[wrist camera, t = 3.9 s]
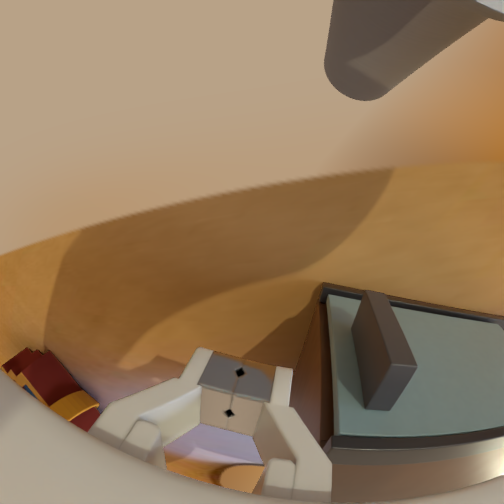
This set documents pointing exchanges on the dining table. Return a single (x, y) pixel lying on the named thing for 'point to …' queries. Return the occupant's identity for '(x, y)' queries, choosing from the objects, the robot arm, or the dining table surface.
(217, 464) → the dining table surface
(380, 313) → the grey sliding lid
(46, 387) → the decorative basket
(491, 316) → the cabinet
